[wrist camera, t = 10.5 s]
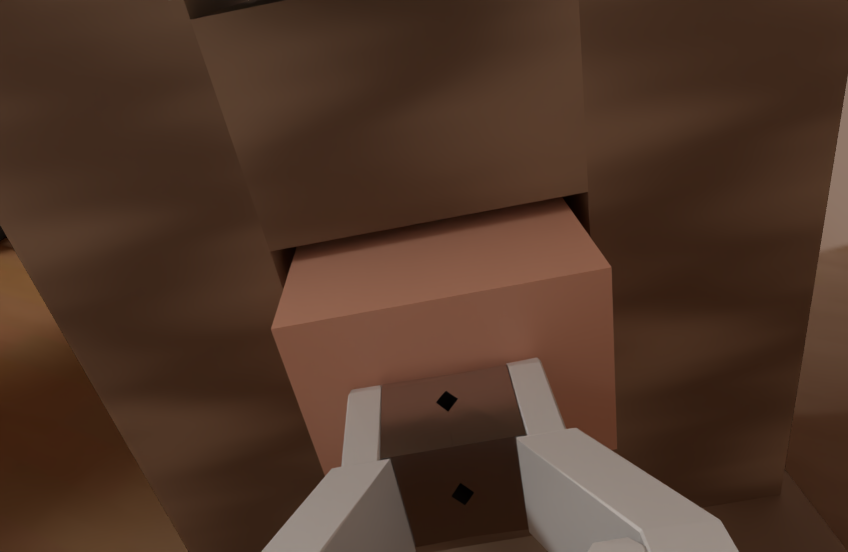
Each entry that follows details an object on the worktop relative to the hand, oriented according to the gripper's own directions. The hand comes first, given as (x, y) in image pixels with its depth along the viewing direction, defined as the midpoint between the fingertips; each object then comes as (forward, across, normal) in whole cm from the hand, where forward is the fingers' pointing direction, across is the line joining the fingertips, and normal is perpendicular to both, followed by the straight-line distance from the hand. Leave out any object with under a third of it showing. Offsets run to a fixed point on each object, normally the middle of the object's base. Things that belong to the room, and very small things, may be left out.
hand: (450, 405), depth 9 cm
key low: (+3, 0, +2) cm, 4 cm away
